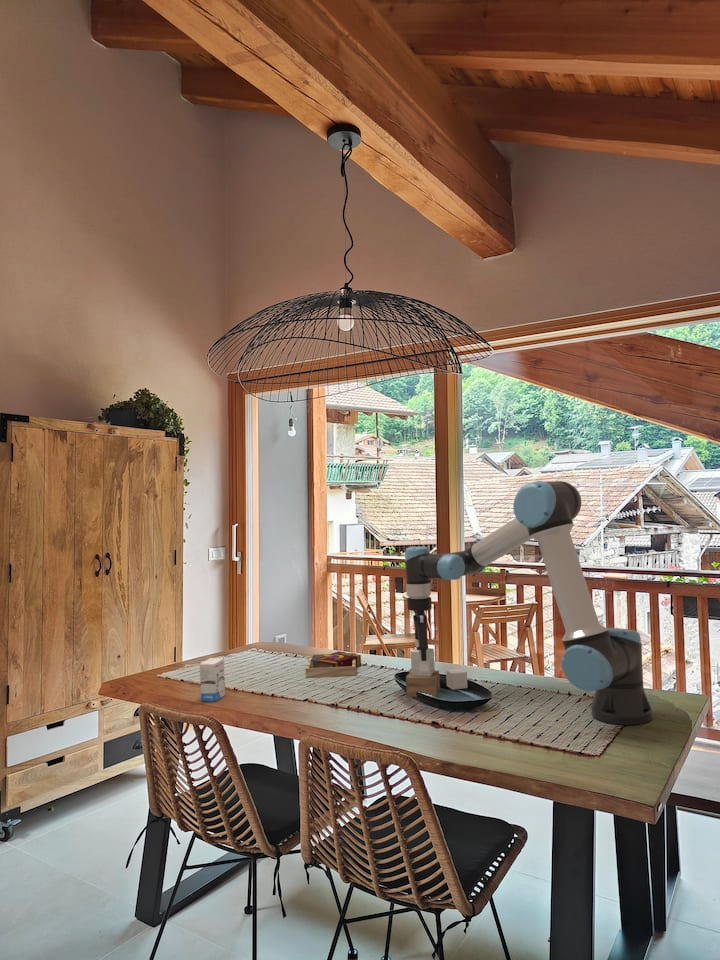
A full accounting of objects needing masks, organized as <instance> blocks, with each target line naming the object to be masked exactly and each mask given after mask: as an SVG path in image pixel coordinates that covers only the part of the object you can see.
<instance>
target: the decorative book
mask: <svg viewBox="0 0 720 960" xmlns="http://www.w3.org/2000/svg"><path fill="white" fill-rule="evenodd" d="M350 653H351V652H346V651H341V650H339V651H335V652H332V653H329V654H330V655H323V657H320V658H314V659H311V662H313V667H312V668H325V667H348V666H352V662H353V660H355V659H356V668H358V667H360V666H362V655H361V654H357V653H356V654H350Z"/></svg>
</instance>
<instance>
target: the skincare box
mask: <svg viewBox="0 0 720 960" xmlns="http://www.w3.org/2000/svg"><path fill="white" fill-rule="evenodd" d="M428 666H429V671H424V672H420V671H419V650H417V648H416V647H415V648H414V649H413V650H412V651H410V669H411V671H412V676H431V675H432V674H433V673H434V672H435V670H436V668H435V649H434V648H429V647H428Z"/></svg>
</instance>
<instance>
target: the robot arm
mask: <svg viewBox="0 0 720 960" xmlns="http://www.w3.org/2000/svg"><path fill="white" fill-rule="evenodd" d="M580 494H581V493H580V492H579V490H578V489H577V488H576V487H575V486H574V485H572V484H571V483H569V482H566V481H562V480H556V481H543V480H537V481H533V482H528V483H527V484H525V485H523V486H522V487H521V488H519V490H518V491H517V493H516V495H515V497H514V500H513V504H512V505H513V514H514V516H515V518H513V519H512V520H511V521H509V522H507V523H506V524H504V525H503V526H501V527H499V528H498V529H496V530H494V531H493V532H491V533H490V534H488V535H487V536H484V537H483V538H482V539H481V540H479V541H477V542H476V543H474V544H473V545H471V546H469V547H468V548H466V549H465V550H460V551H455V552H454V551H453V552H448V553H430V549H429V547H427V546H409V547H407V548H406V549H405V551H404V553H405V554H404V565H405V579H406V580H405V581H406V585H405V586H406V596H407V599H406V604H407V605H406V607H407V610H408V611H411V612H414V613H413V617H412V618H413V625H414V638H415V641H414V642H415V648H417V650H419V671H420V672H424V671H429V666H428V648H429V642H428V632H427V629H428V626H427V625H428V623H427V622H428V617H427V614H425V611H430V610H432V607H433V606H432V605H433V604H432V597H430V596H431V594H432V593H431V592H432V590H431V589H433V587H434V586H433V585H432V584H431V579H434V580H435V579H436V580H446V581H453V580H454V581H456V580H460V578H461V577H463V576H469V575H477V574H479V573H481V572H483V571H484V570H485V569H486V568H487V566H488V565H490V564H491V563H493V562H495V561H496V560H498V559H500V558H502V557H503V556H505V555H507V554H509V553H510V552H512V551H513V550H515V549H517V548H519V547H521V546H522V545H524V544H526V543H527V542H529V541H530V540H534V541H536V542H537V544H538V548H539V550H540V554H541V556H542V560H543V563H544V566H545V570H546V572H547V576H548V579H549V582H550V586H551V588H552V592H553V595H554V598H555V601H556V605H557V607H558V611H559V616H560V618H561V621H562V624H563V627H564V631H565V633H564V635H563V637H562V639H561V642H562V645H563V647H564V652H563V655H562V657H561V660H560V661H561V665H560V666H561V670H562V673H563V674H564V676H565V678H566V679H567V681H569V683H570V684H571V685H572V686H574V687H576V688H577V689H579V690H582V691H585V692H594V694H593V699H592V702H591V704H590V705H591V706H590V709H591V710H590V711H591V714H590V715H591V716H592V718H594V719H596V720H598V721H601V722H604V723H608V724H612V725H621V726H622V725H623V726H633V725H642V724H643V725H644V724H647V723H649V722H651V721H652V720H653V710H652V707H651V704H650V701H649V698H648V696H647V693H646V691H645V688H644V672H643V654H642V653H643V652H642V651H643V649H642V648H643V647H642V646H643V643H642V641H641V634H640V633H639V632H638V631H637V630H635V629H627V628H618V627H617V628H616V627H605V626H604V625H602V624H601V623H600V622H599V619H598V615H597V612H596V608H595V606H594V603H593V600H592V599H593V598H592V597H591V594H590V591H589V587H588V585H587V581H586V578H585V575H584V572H583V569H582V566H581V564H580V560H579V557H578V554H577V553H578V552H577V550H576V547H575V544H574V541H573V538H572V535H571V531H572V529H573V527H574V526H575V525H574V522H573V520H574V519H575V518H576V517H577V516H578V515H579V513H580V511H581V509H582V508H581V507H582V497H581V495H580Z"/></svg>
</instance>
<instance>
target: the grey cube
mask: <svg viewBox="0 0 720 960" xmlns="http://www.w3.org/2000/svg"><path fill="white" fill-rule="evenodd" d="M445 675H446V676H445V677H446V686H447V687H448V688H449V689H451V690H453V691H454V690H460V689H461V690H462V689H468V672H467V671H466V670H464V669H462V668H454V669H446V670H445Z"/></svg>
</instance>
